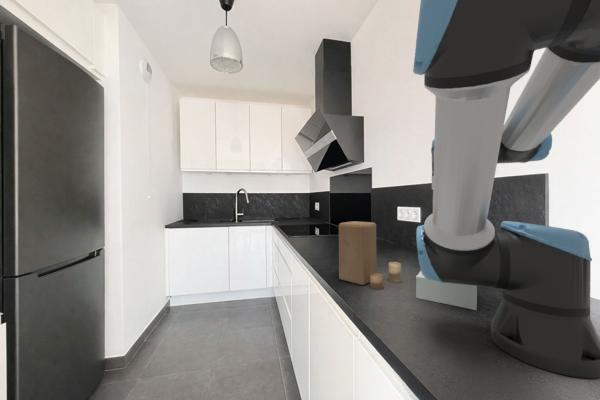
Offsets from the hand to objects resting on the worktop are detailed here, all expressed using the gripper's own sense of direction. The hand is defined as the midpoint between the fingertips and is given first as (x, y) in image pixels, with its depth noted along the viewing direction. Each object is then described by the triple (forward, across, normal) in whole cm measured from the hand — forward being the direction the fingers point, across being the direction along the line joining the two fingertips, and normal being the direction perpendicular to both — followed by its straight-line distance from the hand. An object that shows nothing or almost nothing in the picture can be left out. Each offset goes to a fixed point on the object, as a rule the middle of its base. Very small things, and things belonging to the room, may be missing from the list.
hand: (447, 263), depth 72 cm
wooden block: (+9, -1, +27) cm, 29 cm away
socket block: (+9, 0, 0) cm, 9 cm away
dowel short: (+9, -5, +19) cm, 22 cm away
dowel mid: (+9, +5, +16) cm, 19 cm away
